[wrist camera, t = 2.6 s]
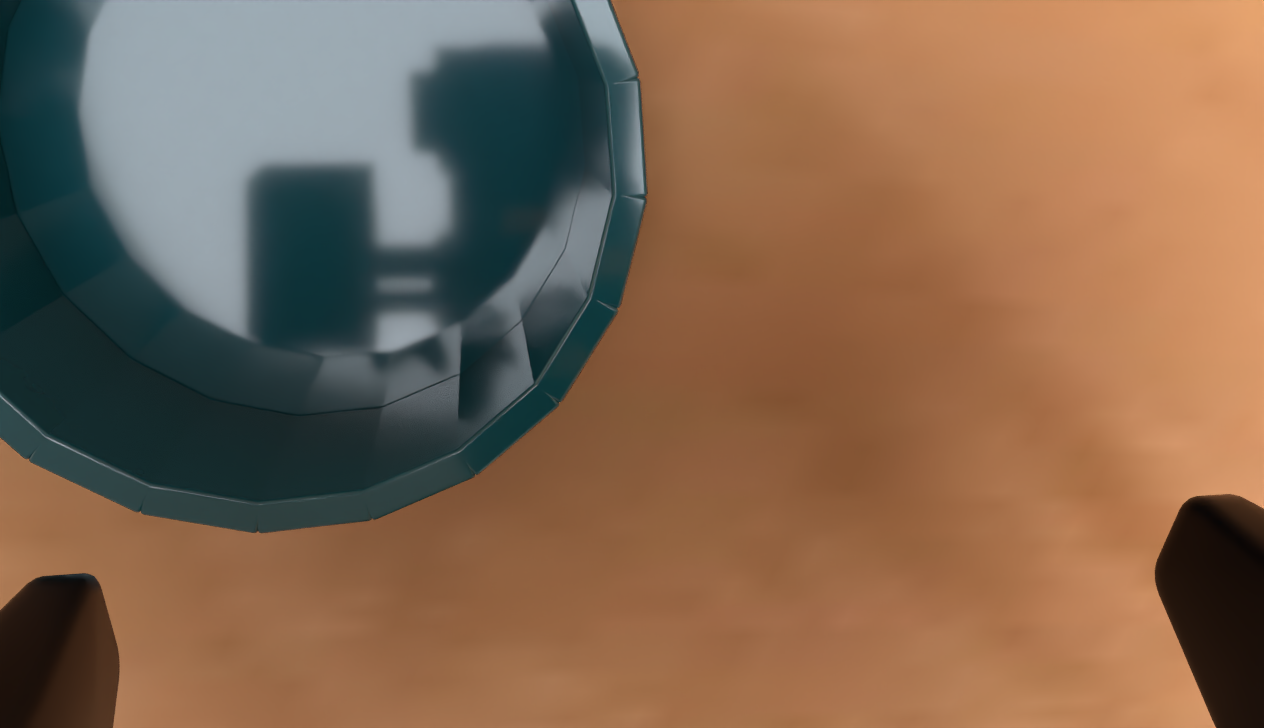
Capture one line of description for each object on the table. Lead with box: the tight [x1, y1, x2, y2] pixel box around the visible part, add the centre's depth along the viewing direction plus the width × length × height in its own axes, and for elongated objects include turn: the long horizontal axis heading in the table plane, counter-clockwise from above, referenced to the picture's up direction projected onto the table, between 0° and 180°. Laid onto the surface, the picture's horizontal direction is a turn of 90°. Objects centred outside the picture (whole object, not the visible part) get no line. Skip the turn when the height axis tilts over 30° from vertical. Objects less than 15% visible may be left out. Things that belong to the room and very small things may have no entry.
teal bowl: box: [0, 0, 648, 533], centre depth 17 cm, size 10×10×4 cm
